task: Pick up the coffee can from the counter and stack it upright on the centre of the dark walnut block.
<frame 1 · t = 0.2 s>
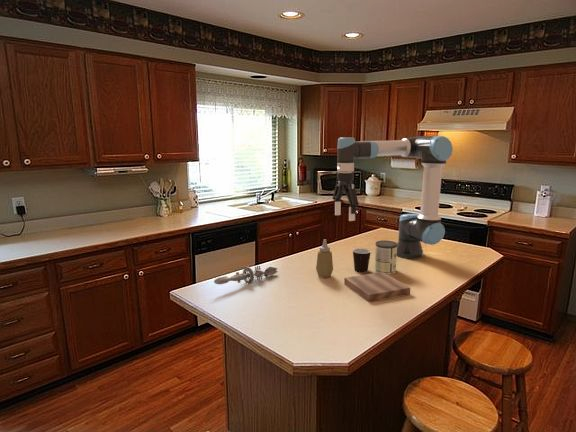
hand: (344, 217, 176), 28 cm above the worktop, fingers open, 13 cm apart
squeeze bottle: (324, 276, 179), on the worktop
coffee mug: (359, 271, 185), on the worktop
spaceship: (248, 284, 170), on the worktop
coffee can: (385, 271, 186), on the worktop
walnut block: (375, 289, 163), on the worktop
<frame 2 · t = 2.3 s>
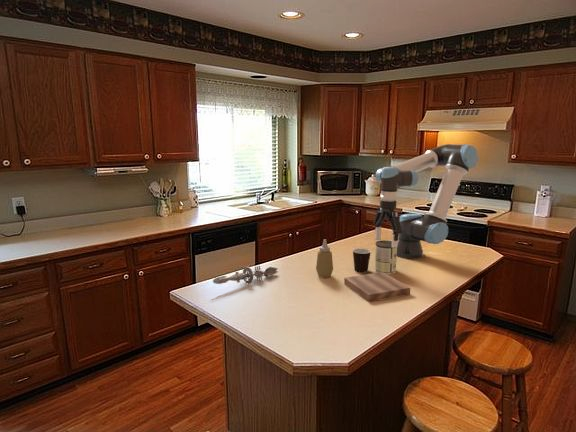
hand: (385, 243, 183), 14 cm above the worktop, fingers open, 13 cm apart
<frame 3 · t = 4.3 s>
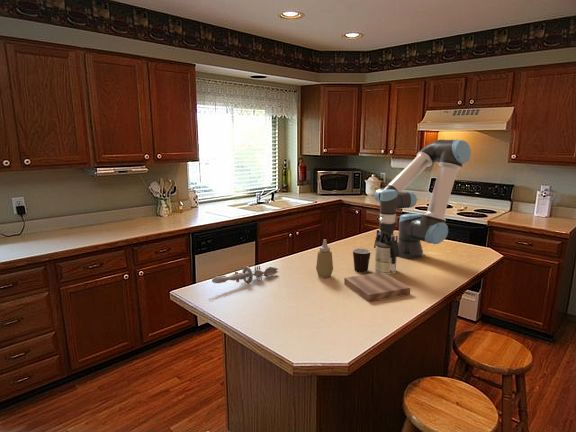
hand: (385, 266, 185), 2 cm above the worktop, fingers closed on coffee can, 10 cm apart
coffee can: (385, 271, 186), on the worktop, touching gripper
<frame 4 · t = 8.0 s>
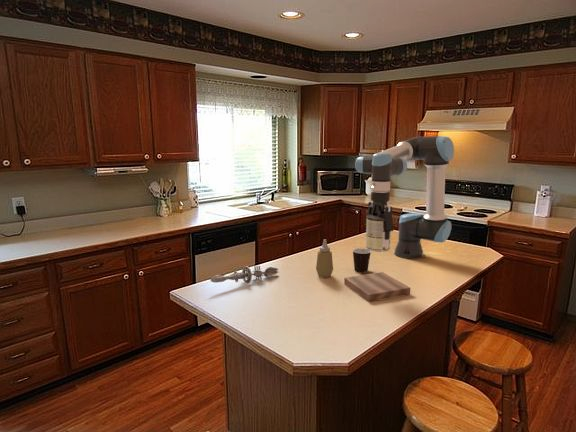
hand: (377, 243, 160), 20 cm above the worktop, fingers closed on coffee can, 10 cm apart
coffee can: (377, 249, 160), point 18 cm above the worktop, touching gripper
when the fingers open (7 cm above the worktop, at t = 11.6 s): coffee can drops 1 cm, resting on walnut block.
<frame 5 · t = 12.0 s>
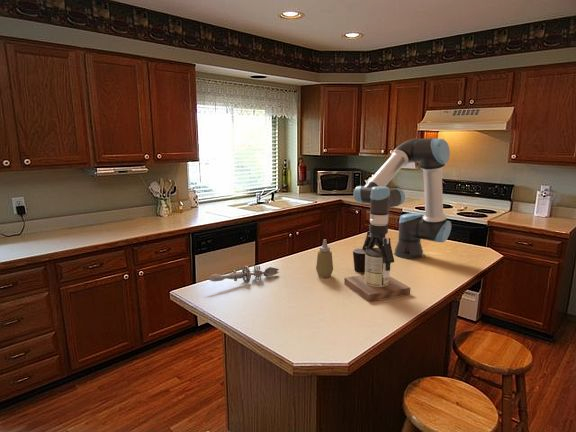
hand: (376, 272, 162), 8 cm above the worktop, fingers open, 13 cm apart
coffee can: (376, 283, 163), point 3 cm above the worktop, touching walnut block
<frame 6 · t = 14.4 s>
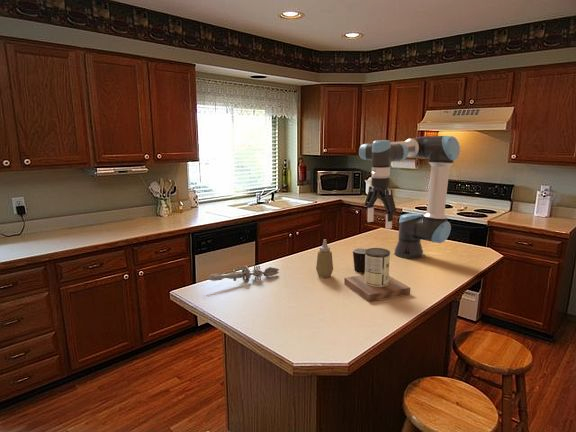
hand: (379, 225, 166), 26 cm above the worktop, fingers open, 13 cm apart
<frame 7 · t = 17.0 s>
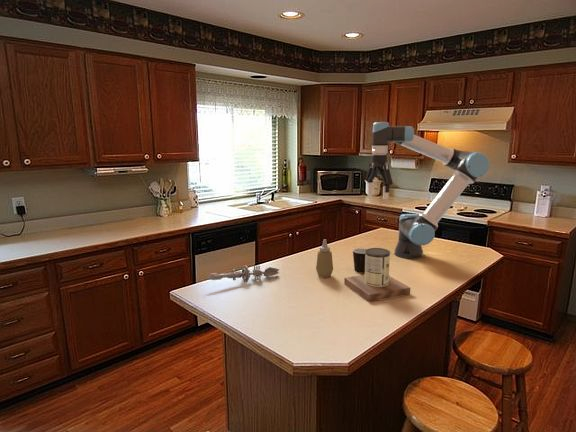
hand: (377, 197, 190), 35 cm above the worktop, fingers open, 13 cm apart
at the end: coffee can inside the target area on the walnut block (0.0 cm from its centre), point 2.8 cm above the walnut block's base; coffee can tilted 0°; the gripper is holding nothing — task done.
